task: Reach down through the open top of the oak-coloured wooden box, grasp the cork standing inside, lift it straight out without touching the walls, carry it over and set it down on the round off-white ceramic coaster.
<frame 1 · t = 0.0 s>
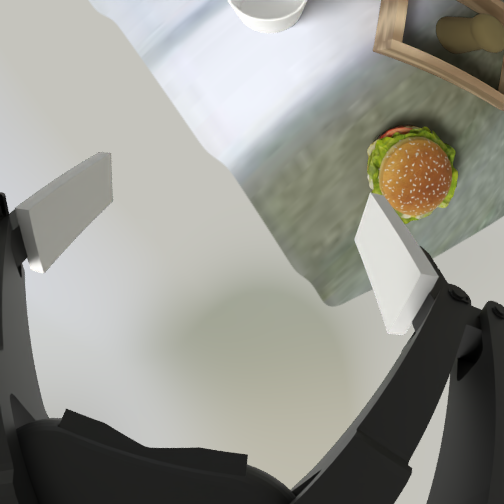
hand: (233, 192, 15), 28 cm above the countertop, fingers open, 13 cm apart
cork: (452, 35, 28), resting in access box
food: (402, 167, 40), on the countertop
access box: (452, 35, 27), on the countertop
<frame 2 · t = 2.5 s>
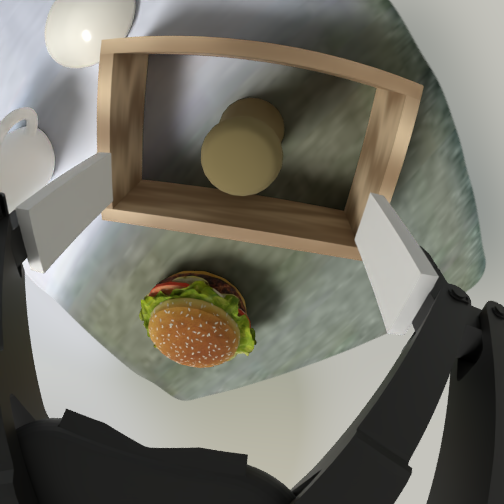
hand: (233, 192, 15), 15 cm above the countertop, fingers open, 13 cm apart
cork: (251, 128, 27), resting in access box
food: (203, 305, 40), on the countertop
access box: (251, 129, 27), on the countertop
coaster: (87, 19, 20), on the countertop
mug: (38, 143, 28), on the countertop
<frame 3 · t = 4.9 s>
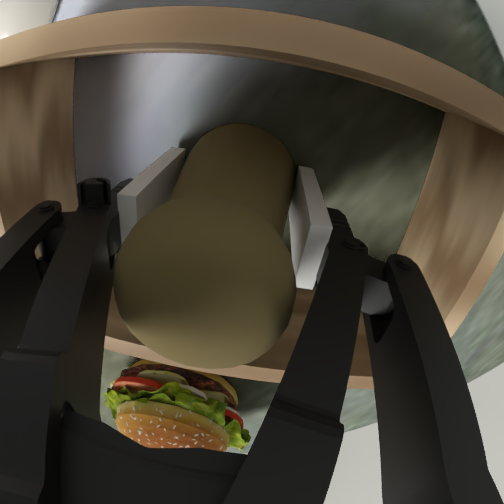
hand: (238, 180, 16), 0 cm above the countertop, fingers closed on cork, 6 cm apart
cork: (239, 176, 17), resting in access box, touching gripper
food: (184, 389, 29), on the countertop
access box: (239, 177, 16), on the countertop
coaster: (4, 16, 10), on the countertop
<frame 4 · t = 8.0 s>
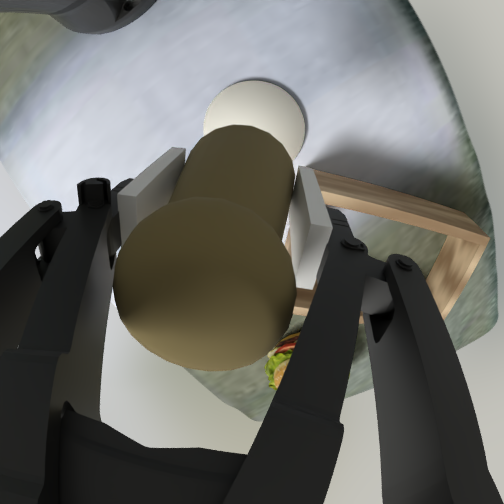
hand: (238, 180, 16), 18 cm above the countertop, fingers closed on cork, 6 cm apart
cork: (239, 177, 17), point 18 cm above the countertop, touching gripper
food: (307, 353, 50), on the countertop
access box: (375, 244, 38), on the countertop
coaster: (254, 128, 32), on the countertop
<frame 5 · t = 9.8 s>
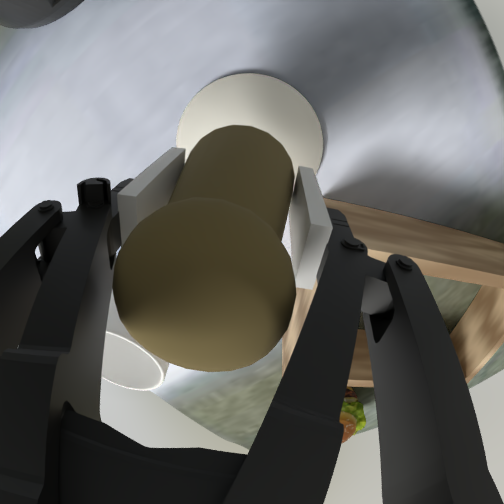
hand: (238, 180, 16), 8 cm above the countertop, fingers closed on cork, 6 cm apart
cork: (239, 177, 17), point 7 cm above the countertop, touching gripper
food: (316, 399, 42), on the countertop
access box: (407, 288, 29), on the countertop
coaster: (249, 143, 22), on the countertop
mug: (160, 273, 30), on the countertop
when the fingers open (2 cm above the countertop, at t = 11.4 s): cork drops 1 cm, resting on coaster.
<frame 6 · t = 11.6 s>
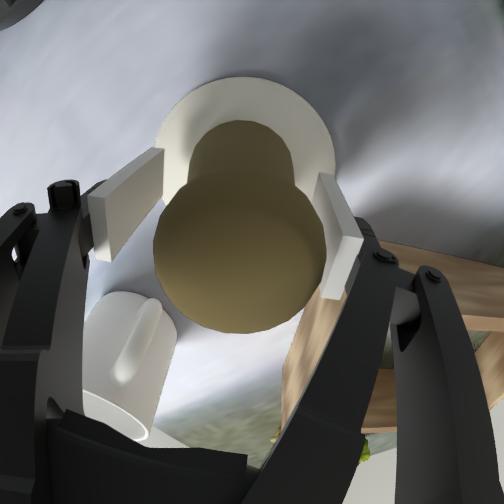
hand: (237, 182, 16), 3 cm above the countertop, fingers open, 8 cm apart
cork: (241, 170, 18), point 1 cm above the countertop, touching coaster
access box: (422, 326, 25), on the countertop
coaster: (242, 166, 18), on the countertop
mug: (144, 310, 26), on the countertop
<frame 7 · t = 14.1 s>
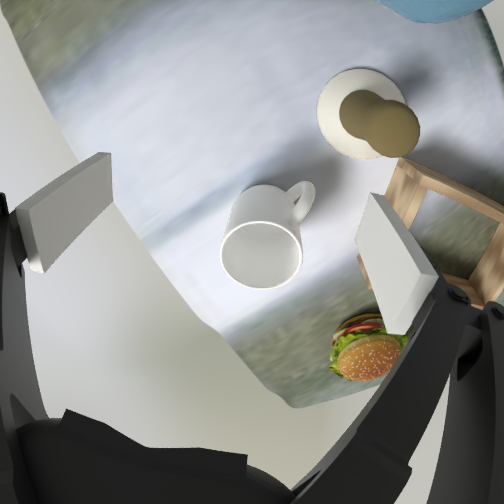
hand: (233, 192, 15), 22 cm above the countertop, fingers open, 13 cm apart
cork: (363, 114, 31), resting on coaster
food: (363, 336, 51), on the countertop
access box: (443, 232, 38), on the countertop
coaster: (363, 114, 31), on the countertop
mug: (274, 202, 39), on the countertop
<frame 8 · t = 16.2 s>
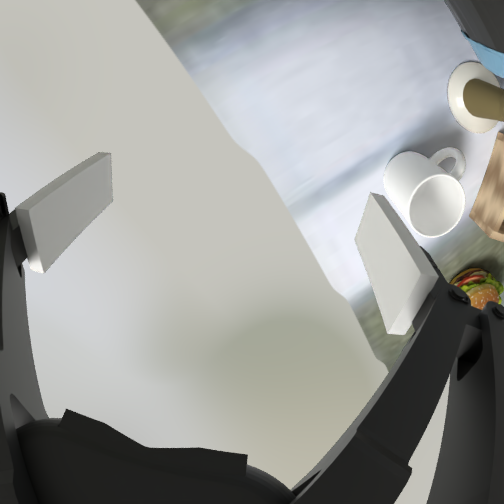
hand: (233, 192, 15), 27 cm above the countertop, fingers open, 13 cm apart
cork: (477, 97, 31), resting on coaster
food: (464, 291, 50), on the countertop
coaster: (475, 97, 31), on the countertop
mug: (415, 167, 39), on the countertop
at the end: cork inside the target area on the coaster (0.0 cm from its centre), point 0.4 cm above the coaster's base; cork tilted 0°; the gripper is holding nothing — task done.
